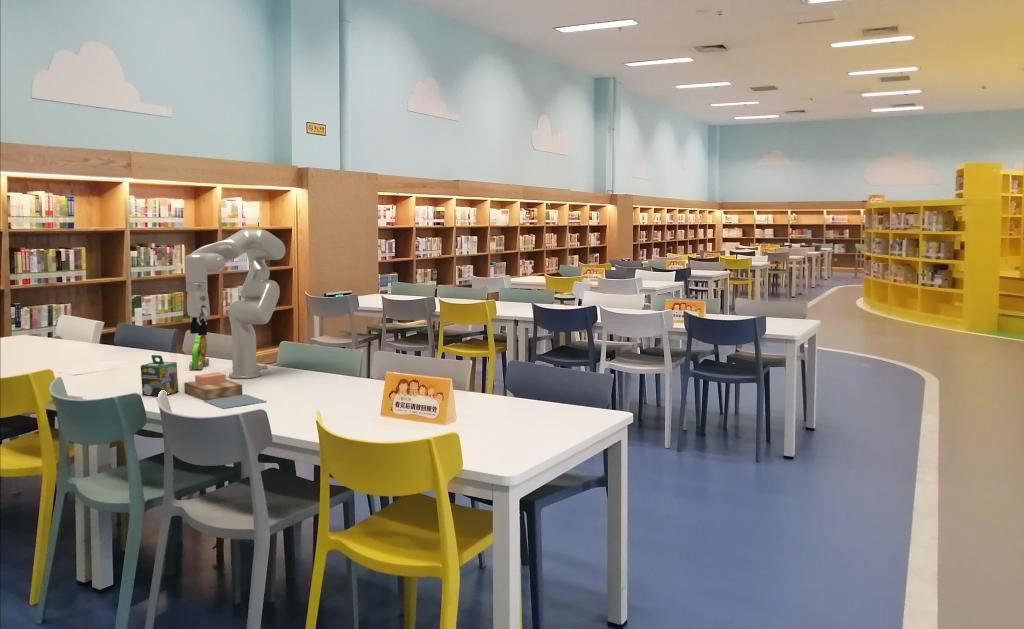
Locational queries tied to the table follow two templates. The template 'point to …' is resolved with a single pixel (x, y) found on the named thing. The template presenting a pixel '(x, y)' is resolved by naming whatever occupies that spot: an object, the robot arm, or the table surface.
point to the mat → (234, 401)
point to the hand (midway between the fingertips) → (198, 333)
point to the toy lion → (199, 353)
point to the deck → (213, 390)
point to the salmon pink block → (210, 378)
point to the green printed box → (159, 377)
